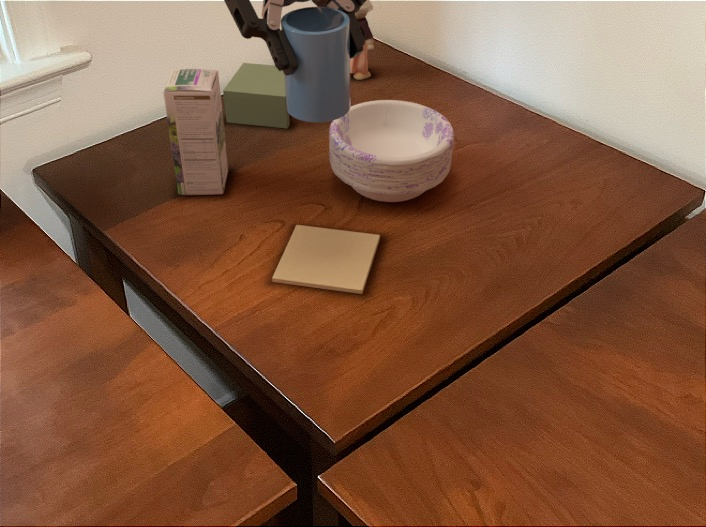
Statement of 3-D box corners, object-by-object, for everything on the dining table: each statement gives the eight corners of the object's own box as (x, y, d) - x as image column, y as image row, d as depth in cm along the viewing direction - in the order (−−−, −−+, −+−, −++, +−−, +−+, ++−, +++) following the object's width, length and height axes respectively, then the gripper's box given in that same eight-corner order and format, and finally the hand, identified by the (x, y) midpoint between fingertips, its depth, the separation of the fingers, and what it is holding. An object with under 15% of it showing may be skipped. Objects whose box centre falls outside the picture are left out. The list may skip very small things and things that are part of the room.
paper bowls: (475, 187, 103) (480, 132, 98) (381, 232, 96) (381, 174, 91) (397, 139, 112) (399, 86, 107) (306, 176, 105) (303, 121, 100)
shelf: (226, 122, 116) (222, 90, 113) (246, 93, 123) (243, 62, 120) (287, 128, 115) (285, 96, 112) (304, 99, 122) (302, 67, 119)
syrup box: (185, 171, 106) (168, 67, 97) (230, 170, 106) (218, 67, 97) (178, 196, 102) (160, 90, 93) (225, 195, 102) (212, 89, 93)
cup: (278, 119, 80) (272, 29, 74) (296, 89, 85) (291, 3, 79) (342, 125, 79) (341, 35, 73) (356, 95, 83) (356, 8, 78)
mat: (272, 282, 89) (271, 278, 88) (296, 228, 96) (296, 224, 96) (362, 294, 87) (362, 290, 87) (380, 238, 95) (380, 234, 94)
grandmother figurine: (336, 68, 129) (334, -11, 121) (356, 62, 131) (355, -16, 123) (364, 87, 124) (364, 5, 116) (384, 80, 126) (385, -1, 118)
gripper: (196, -111, 71) (267, 65, 71) (338, -134, 77) (405, 29, 77) (182, -65, 78) (246, 96, 78) (313, -89, 84) (374, 61, 83)
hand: (325, 62), depth 77 cm, fingers closed on cup, 6 cm apart
